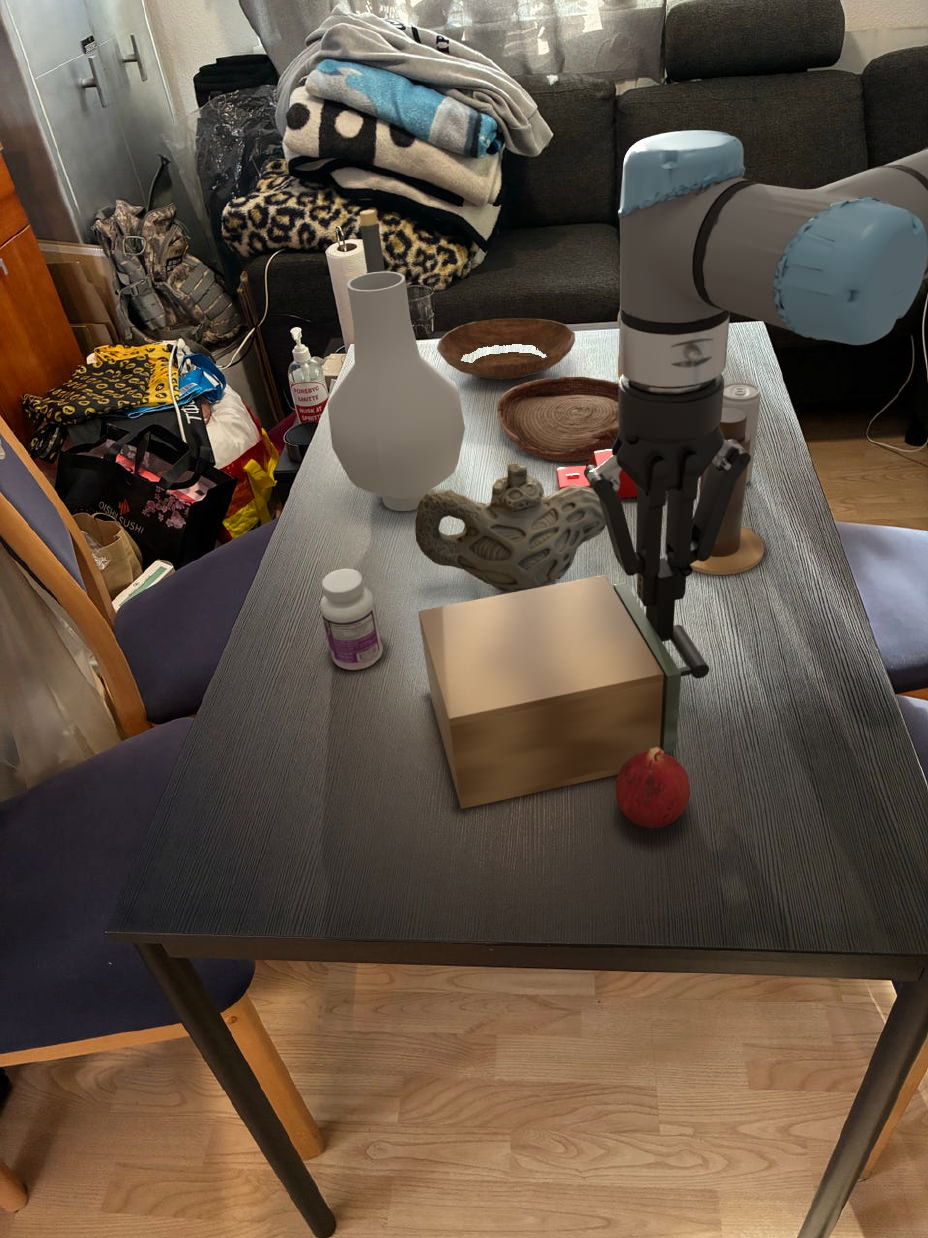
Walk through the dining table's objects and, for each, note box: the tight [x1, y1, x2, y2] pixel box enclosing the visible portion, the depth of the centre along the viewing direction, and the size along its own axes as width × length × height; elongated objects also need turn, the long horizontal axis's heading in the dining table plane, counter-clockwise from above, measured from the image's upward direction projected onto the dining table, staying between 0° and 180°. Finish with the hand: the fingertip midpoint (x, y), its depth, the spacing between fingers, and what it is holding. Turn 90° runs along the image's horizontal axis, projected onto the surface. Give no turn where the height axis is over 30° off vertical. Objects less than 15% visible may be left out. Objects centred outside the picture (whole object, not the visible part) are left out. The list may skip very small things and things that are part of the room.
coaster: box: [690, 526, 765, 576], centre depth 106 cm, size 10×10×1 cm
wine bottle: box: [359, 209, 413, 325], centre depth 130 cm, size 8×8×30 cm
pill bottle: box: [320, 568, 384, 671], centre depth 94 cm, size 5×5×10 cm
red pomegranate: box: [615, 747, 691, 829], centre depth 74 cm, size 6×6×8 cm
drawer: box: [613, 582, 710, 753], centre depth 84 cm, size 21×13×9 cm, turn 102°
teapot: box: [414, 463, 607, 593], centre depth 100 cm, size 21×12×15 cm, turn 99°
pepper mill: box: [698, 408, 751, 557], centre depth 101 cm, size 5×5×16 cm
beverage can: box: [722, 382, 761, 485], centre depth 115 cm, size 5×5×12 cm
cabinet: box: [417, 574, 664, 810], centre depth 83 cm, size 18×15×11 cm
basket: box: [496, 376, 619, 463], centre depth 131 cm, size 22×20×5 cm
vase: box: [327, 270, 466, 512], centre depth 113 cm, size 17×16×28 cm
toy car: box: [555, 449, 668, 499], centre depth 117 cm, size 14×6×5 cm, turn 90°
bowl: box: [436, 317, 576, 380], centre depth 150 cm, size 20×22×5 cm
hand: (659, 628), depth 82 cm, fingers closed
